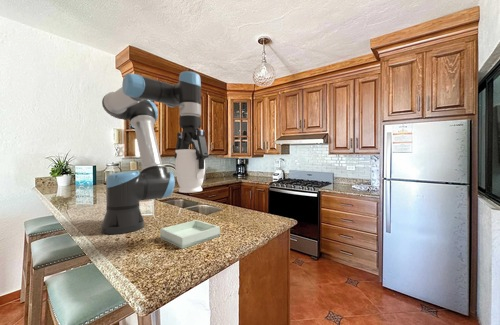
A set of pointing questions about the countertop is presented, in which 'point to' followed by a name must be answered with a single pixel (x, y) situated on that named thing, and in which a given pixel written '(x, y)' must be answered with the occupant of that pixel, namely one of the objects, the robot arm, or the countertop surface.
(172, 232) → the tray
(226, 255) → the countertop surface
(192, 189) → the jar
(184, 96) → the robot arm
